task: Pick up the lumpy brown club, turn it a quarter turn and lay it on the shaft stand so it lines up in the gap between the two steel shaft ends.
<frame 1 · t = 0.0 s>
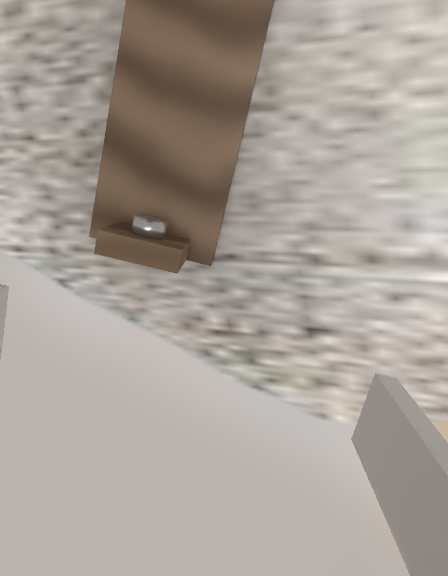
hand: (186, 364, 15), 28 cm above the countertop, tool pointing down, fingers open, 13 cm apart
shaft stand: (185, 87, 38), on the countertop
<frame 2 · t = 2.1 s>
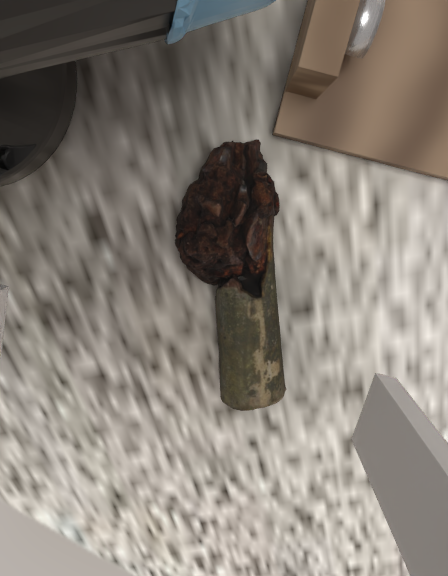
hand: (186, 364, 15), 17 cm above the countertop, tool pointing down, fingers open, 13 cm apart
lumpy brown club: (233, 270, 31), on the countertop
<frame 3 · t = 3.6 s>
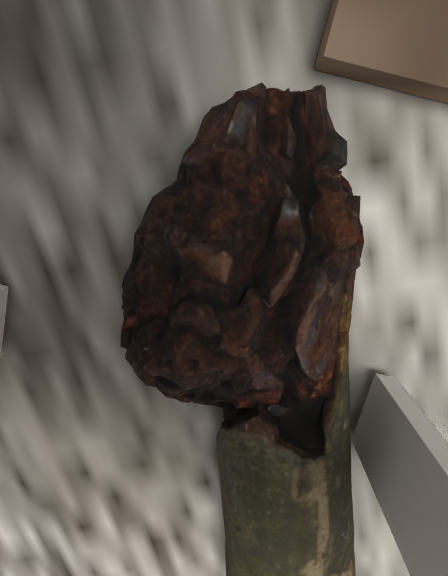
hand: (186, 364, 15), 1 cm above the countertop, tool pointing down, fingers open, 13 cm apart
lumpy brown club: (252, 361, 16), on the countertop
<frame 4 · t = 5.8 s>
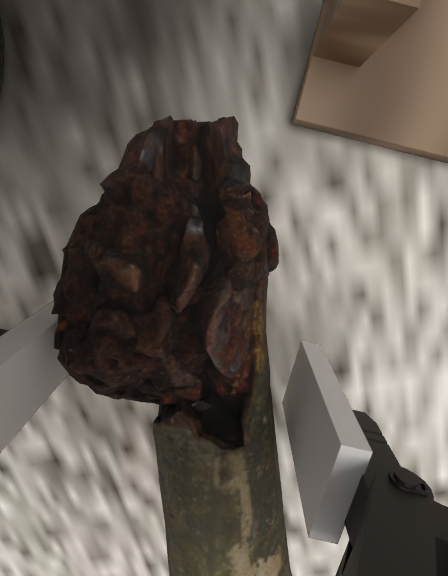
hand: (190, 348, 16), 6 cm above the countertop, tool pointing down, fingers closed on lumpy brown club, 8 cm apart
lumpy brown club: (195, 362, 17), point 5 cm above the countertop, touching gripper
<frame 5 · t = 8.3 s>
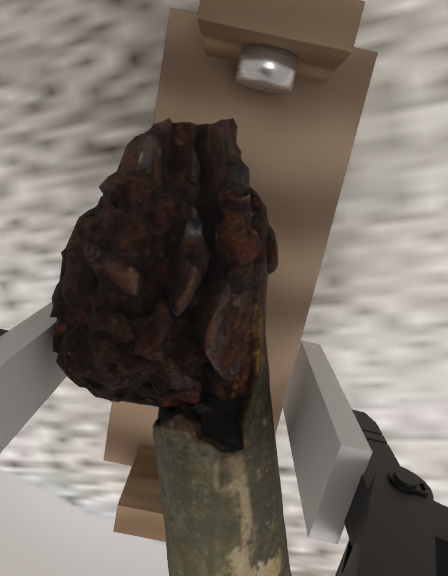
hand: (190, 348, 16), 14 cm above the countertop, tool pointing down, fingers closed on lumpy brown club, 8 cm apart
shaft stand: (222, 278, 29), on the countertop
lumpy brown club: (195, 364, 17), point 13 cm above the countertop, touching gripper
when the fingers open (2 cm above the countertop, at t = 11.1 s): lumpy brown club stays where it is, resting on shaft stand.
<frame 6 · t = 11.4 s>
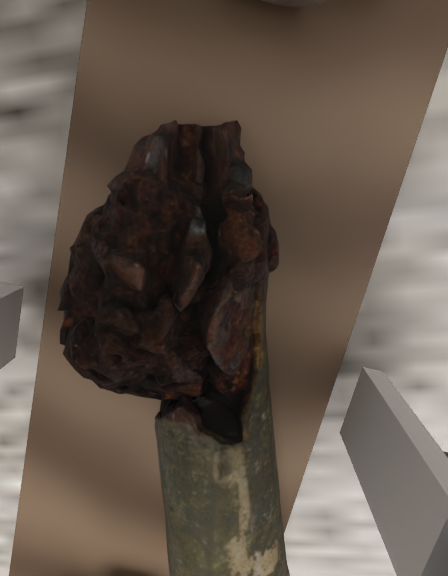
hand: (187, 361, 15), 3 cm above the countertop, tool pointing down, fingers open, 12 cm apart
shaft stand: (196, 328, 18), on the countertop
lumpy brown club: (196, 360, 17), point 1 cm above the countertop, touching shaft stand
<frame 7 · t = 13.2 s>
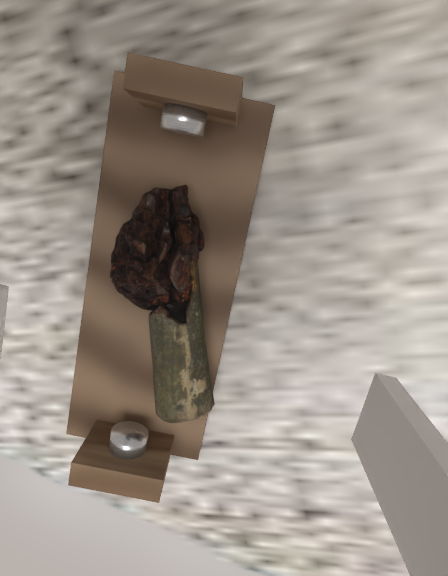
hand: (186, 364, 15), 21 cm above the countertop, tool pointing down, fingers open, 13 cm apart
shaft stand: (163, 281, 36), on the countertop
lumpy brown club: (170, 296, 35), point 1 cm above the countertop, touching shaft stand
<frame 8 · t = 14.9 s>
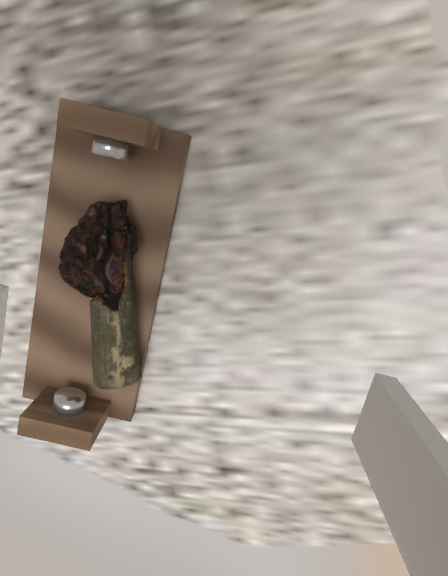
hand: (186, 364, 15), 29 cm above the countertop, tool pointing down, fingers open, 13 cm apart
shaft stand: (103, 274, 44), on the countertop
lumpy brown club: (112, 288, 43), point 1 cm above the countertop, touching shaft stand
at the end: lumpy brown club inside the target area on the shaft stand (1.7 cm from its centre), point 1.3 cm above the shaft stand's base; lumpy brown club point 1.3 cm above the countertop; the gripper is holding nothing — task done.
